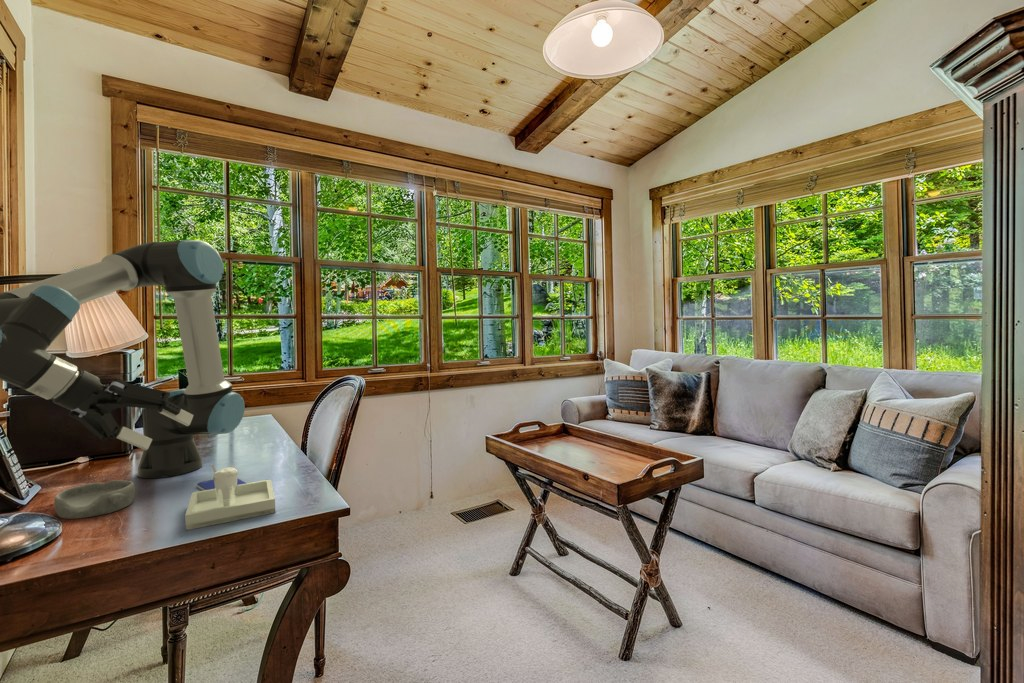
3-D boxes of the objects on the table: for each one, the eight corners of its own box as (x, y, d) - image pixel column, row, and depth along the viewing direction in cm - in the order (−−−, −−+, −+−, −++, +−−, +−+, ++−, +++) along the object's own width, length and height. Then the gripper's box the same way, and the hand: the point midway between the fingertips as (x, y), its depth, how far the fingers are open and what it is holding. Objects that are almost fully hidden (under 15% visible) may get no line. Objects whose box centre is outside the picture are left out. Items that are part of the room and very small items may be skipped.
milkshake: (222, 506, 105) (219, 461, 104) (244, 507, 104) (242, 461, 104) (206, 514, 100) (203, 467, 100) (229, 515, 100) (227, 467, 99)
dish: (131, 511, 107) (130, 489, 107) (47, 527, 99) (45, 503, 99) (139, 493, 119) (138, 474, 119) (64, 506, 112) (63, 485, 111)
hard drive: (196, 482, 123) (213, 492, 114) (231, 474, 129) (250, 483, 121) (197, 488, 123) (213, 499, 114) (232, 480, 129) (250, 489, 121)
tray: (193, 505, 109) (192, 492, 109) (271, 491, 117) (270, 479, 117) (186, 530, 95) (185, 515, 95) (275, 512, 103) (274, 498, 103)
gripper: (15, 425, 94) (125, 468, 108) (97, 371, 87) (203, 424, 102) (36, 396, 99) (139, 440, 113) (115, 342, 93) (213, 396, 107)
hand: (169, 433), depth 107 cm, fingers open, 13 cm apart
